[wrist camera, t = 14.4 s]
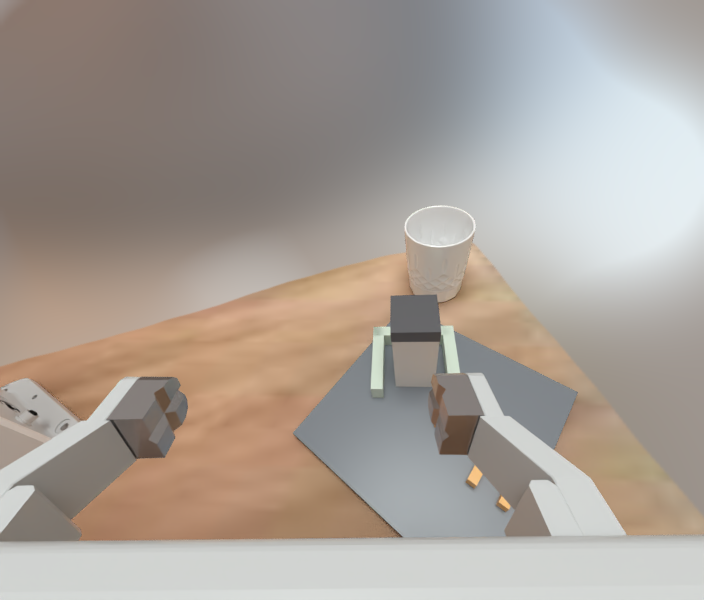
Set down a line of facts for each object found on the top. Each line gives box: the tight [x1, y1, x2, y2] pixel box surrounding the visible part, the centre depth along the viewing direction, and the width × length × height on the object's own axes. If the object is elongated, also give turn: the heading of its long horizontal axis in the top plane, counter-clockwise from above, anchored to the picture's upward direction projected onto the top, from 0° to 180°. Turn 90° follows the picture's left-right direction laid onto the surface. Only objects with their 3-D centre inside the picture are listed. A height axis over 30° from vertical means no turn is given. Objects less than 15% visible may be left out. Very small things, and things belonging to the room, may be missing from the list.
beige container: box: [390, 294, 441, 387], centre depth 31 cm, size 4×4×10 cm
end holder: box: [371, 326, 460, 398], centre depth 34 cm, size 8×9×2 cm
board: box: [293, 323, 578, 538], centre depth 31 cm, size 20×20×2 cm
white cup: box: [404, 206, 476, 302], centre depth 40 cm, size 8×8×10 cm
